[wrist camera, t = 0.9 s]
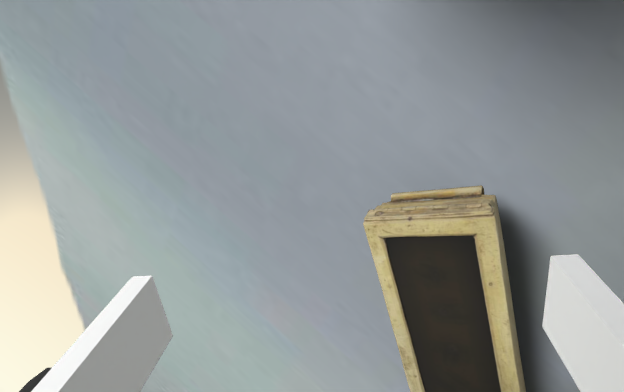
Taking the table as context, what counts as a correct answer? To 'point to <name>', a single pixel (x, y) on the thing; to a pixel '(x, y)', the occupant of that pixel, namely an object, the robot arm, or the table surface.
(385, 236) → the box
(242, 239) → the table surface
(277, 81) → the table surface
